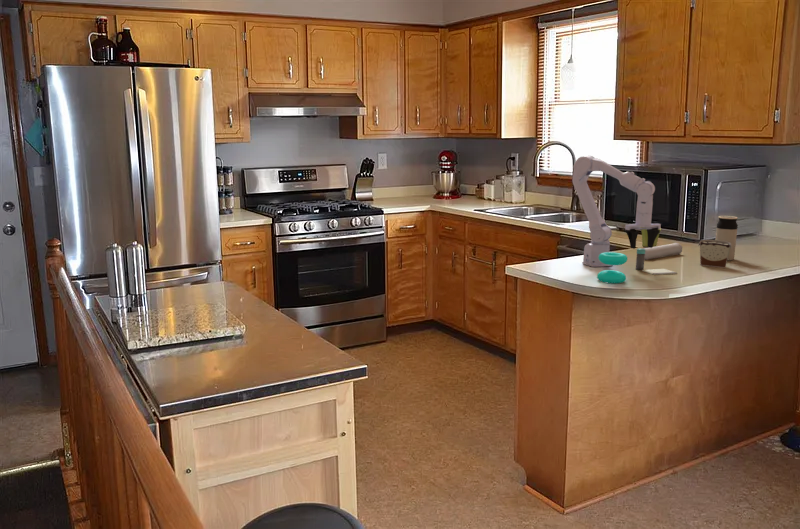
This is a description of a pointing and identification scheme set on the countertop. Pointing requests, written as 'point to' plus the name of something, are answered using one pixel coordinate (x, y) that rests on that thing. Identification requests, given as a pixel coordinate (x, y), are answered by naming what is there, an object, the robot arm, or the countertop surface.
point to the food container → (714, 253)
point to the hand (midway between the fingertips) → (641, 247)
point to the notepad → (659, 271)
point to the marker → (640, 259)
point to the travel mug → (727, 232)
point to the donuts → (612, 275)
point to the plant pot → (645, 237)
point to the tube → (663, 251)
